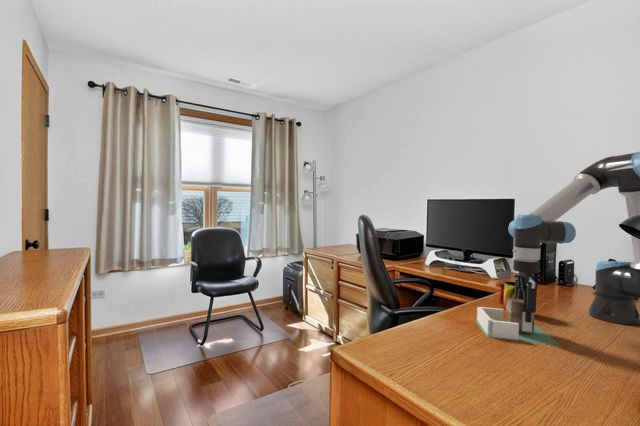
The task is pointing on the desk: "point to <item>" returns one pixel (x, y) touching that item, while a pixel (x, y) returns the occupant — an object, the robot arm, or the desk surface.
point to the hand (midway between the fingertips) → (523, 328)
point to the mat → (529, 336)
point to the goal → (496, 323)
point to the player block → (517, 313)
